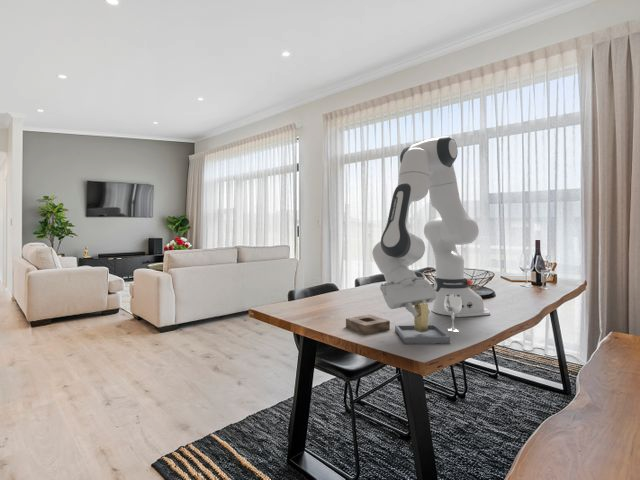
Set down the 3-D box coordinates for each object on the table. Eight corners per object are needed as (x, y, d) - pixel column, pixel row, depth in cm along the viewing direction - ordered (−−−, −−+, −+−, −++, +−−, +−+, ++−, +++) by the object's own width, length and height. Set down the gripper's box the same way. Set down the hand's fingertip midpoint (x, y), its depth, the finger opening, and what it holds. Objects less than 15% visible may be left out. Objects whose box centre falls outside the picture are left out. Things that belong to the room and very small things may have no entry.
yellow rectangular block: (420, 328, 125) (420, 302, 124) (427, 331, 122) (427, 303, 122) (414, 330, 123) (414, 303, 123) (421, 332, 121) (421, 304, 120)
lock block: (369, 322, 141) (369, 314, 141) (389, 329, 132) (389, 320, 132) (345, 326, 136) (345, 318, 135) (365, 334, 126) (364, 325, 126)
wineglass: (441, 328, 133) (441, 294, 132) (457, 327, 133) (457, 293, 133) (448, 332, 127) (448, 297, 126) (464, 332, 127) (465, 297, 127)
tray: (435, 330, 130) (435, 324, 130) (449, 343, 116) (449, 336, 116) (395, 330, 130) (395, 325, 130) (404, 344, 116) (404, 337, 116)
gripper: (382, 278, 122) (403, 313, 115) (426, 272, 133) (449, 305, 125) (373, 289, 126) (393, 325, 119) (417, 283, 137) (438, 315, 129)
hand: (422, 314), depth 122 cm, fingers closed on yellow rectangular block, 3 cm apart
